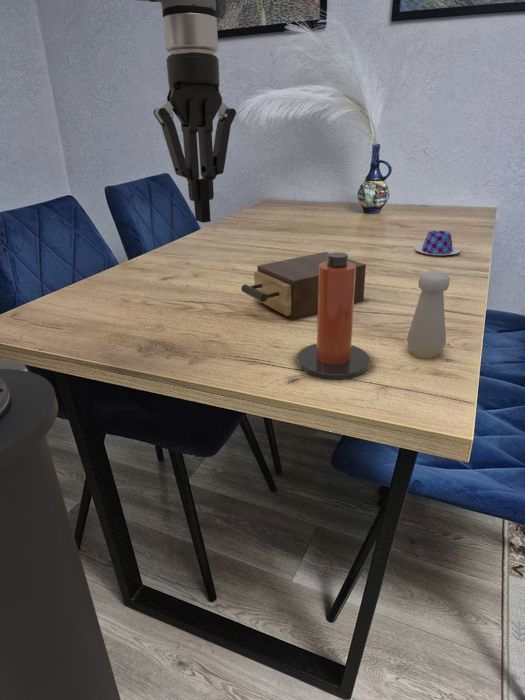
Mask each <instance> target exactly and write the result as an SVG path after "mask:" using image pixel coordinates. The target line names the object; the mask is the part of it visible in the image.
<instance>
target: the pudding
mask: <svg viewBox="0 0 525 700" xmlns="http://www.w3.org/2000/svg"><path fill="white" fill-rule="evenodd" d="M452 238H453V237H452V234H451V232H449V231H446V230H430V231H429V232H428V233H427V234H426V237H425V240H424V242H423V244H417V245H415V246H414V248H413V249H414V250H415V251H417V252H419V253H422V254H426V255H428V256H429V255H430V256H441V257H442V256H450V255H455V254H459V253H460V252H461V248H460V247H457V246H455V245H453V240H452Z"/></svg>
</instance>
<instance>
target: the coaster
mask: <svg viewBox="0 0 525 700" xmlns="http://www.w3.org/2000/svg"><path fill="white" fill-rule="evenodd" d="M316 352H317V343H314V344H310V345H307V346H305V347H304V348H302V349H301V350H300V351H299V352H298V354H297V358H296V359H297V365H298V367H299V368H300V369H301V370H302V371H303V372H304V373H306V374H308V375H310V376H313V377H316V378H320V379H326V380H346V379H352V378H355V377H358V376H361V375H363V374H364V373H365V372H367V370H368V369H369V367H370V365H371V364H370V362H371V361H370V360H371V359H370V356H369V355H368V353H367V352H366V351H365V350H363V349H362V348H360V347H358V346H355V345H352V344H351V358H350V360H349V361H348V362H347V363H345V364H341V365H329V364H325V363H322V362H320V361H319V360H318V359H317V357H316Z"/></svg>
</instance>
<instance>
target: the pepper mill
mask: <svg viewBox="0 0 525 700" xmlns="http://www.w3.org/2000/svg"><path fill="white" fill-rule="evenodd" d="M328 253H329V254H328V257H327V261H326V262H322V263H320V264H319V272H318V312H317V314H316V315H317V317H316V318H317V319H316V344H317V352H316V357H317V359H318V360H319V361H320V362H322V363H325V364H329V365H341V364H345V363H347V362H348V361H349V360H350V358H351V345H352V339H353V325H354V324H353V323H354V308H355V303H354V292H355V276H356V265H355V264H354V263H352V262H348V259H349V255H348V254H347V253H345V252H341V251H339V252H328Z"/></svg>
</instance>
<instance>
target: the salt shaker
mask: <svg viewBox="0 0 525 700" xmlns="http://www.w3.org/2000/svg"><path fill="white" fill-rule="evenodd" d="M450 283H451V282H450V276H449V275H448V274H446V273H445V272H441V271H436V270H435V271H434V270H430V271H425V272H422V273H421V274H420V276H419V279H418V288H419V289H420V290H421V291H420V293H419V297H418V301H417V304H416V308H415V310H414V314H413V317H412V321H411V324H410V328H409V330H408V334H407V337H406V341H407V344H408V348H409V352H410V353H411V354H412V355H414V356H415V357H417V358H421V359H429V360H430V359H433V358H436V357H438V356H439V355H440V354H441V352H442V350H444V348H445V346H446V343H447V334H446V332H447V331H446V319H445V318H446V317H445V316H446V315H445V299H444V298H445V297H444V296H445V295H444V294H445V293H444V292H446V291H448V290H449V286H450Z"/></svg>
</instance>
